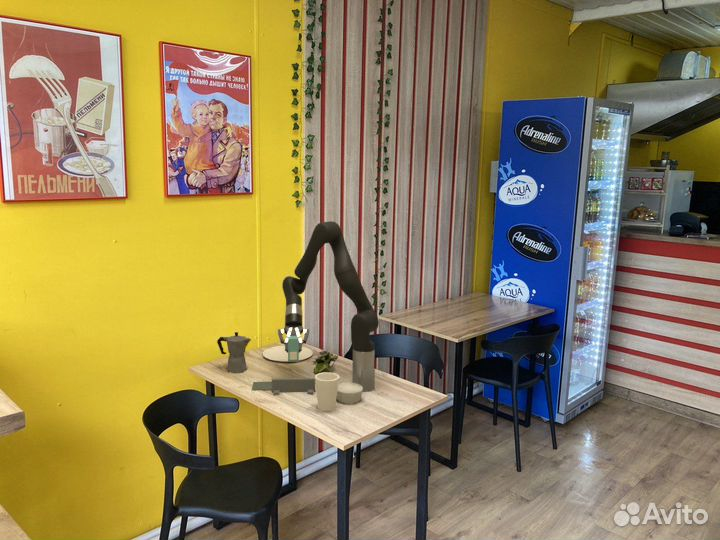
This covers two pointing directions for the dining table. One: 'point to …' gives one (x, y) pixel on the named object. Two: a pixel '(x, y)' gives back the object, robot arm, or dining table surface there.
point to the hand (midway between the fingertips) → (293, 351)
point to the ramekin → (349, 393)
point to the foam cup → (326, 390)
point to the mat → (262, 386)
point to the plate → (284, 354)
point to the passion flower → (324, 361)
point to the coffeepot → (235, 352)
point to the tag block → (293, 349)
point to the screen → (293, 385)
